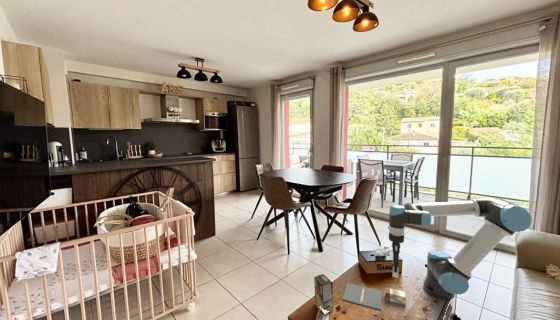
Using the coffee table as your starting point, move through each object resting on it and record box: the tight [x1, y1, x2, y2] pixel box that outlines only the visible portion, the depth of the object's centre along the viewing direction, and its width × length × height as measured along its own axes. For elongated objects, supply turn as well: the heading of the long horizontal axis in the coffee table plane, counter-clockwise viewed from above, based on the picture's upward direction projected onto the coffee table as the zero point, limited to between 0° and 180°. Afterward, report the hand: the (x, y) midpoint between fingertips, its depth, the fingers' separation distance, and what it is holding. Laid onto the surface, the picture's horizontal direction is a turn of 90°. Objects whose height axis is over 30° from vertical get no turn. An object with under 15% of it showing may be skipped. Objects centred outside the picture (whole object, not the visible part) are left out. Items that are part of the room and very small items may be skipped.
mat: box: [341, 282, 383, 311], centre depth 132 cm, size 20×16×1 cm
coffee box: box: [313, 273, 334, 313], centre depth 123 cm, size 9×6×16 cm
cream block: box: [384, 287, 407, 306], centre depth 128 cm, size 10×5×4 cm, turn 64°
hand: (395, 270), depth 127 cm, fingers open, 13 cm apart
